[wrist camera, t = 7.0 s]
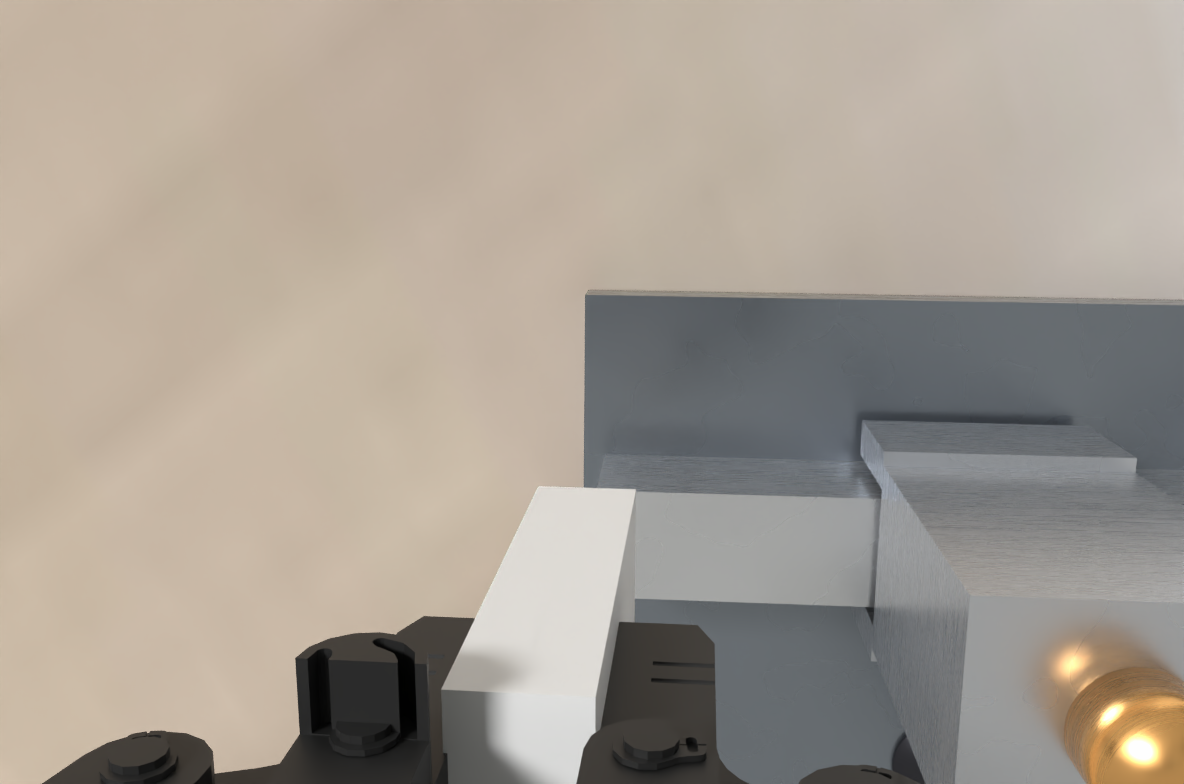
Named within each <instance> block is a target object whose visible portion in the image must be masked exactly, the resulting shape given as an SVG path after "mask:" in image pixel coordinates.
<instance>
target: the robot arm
mask: <svg viewBox="0 0 1184 784" xmlns="http://www.w3.org/2000/svg"><path fill="white" fill-rule="evenodd" d="M635 539H636V489H610V488H579V487H548V486H538V488H537V490H536V492H535V494H534V496H533V498H532V501H531V503H530V505H529V507H528V509H527V511H526V513H525V515H524V517H523V519H522V521H521V524H520V526H519V528H518V530H517V532H516V534H515V536H514V538H513V540H512V542H511V544H510V547H509V549H508V551H507V553H506V555H505V557H504V559H503V561H502V563H501V565H500V567H499V570H498V572H497V574H496V576H495V578H494V580H493V582H492V584H491V586H490V588H489V591H488V593H487V595H486V597H485V599H484V601H483V603H482V605H481V607H480V609H479V611H478V614H477V616H476V618H453V617H430V616H424V617H422V618H420V619H419V620H417V621H416V622H414V623H412V624H411V625H409V626H407V627H406V628H404V629H403V630H401V631H399V632H398V633H397V634H396V635H394V634H387V633H380V632H379V633H355V634H349V635H345V636H340V637H335V638H330V639H327V640H325V641H323V642H320V643H318V644H315V645H313V646H311V647H309V648H307V649H306V650H305V651H304V652H302V653H301V654H300V655H299V656H297V657H296V658H295V659H296V676H297V692H298V709H299V726H300V735H299V736H298V738H297V739H296V741H295V742H294V744H293V745H292V747H291V748H290V750H289V751H288V753H287V754H286V756H285V757H284V759H283V760H282V762H281V763H280V764H277V765H272V766H267V767H262V768H256V769H248V770H240V771H233V772H225V773H217V774H214V762H213V751H212V750H211V748H210V747H209V746H208V745H207V744H206V742H205V741H204V740H202V739H199V738H197V737H194V736H192V735H189V734H186V733H175V732H166V731H150V733H147V732H141V733H135V734H131V735H129V736H128V737H126V738H122V739H119V740H116V741H112V742H109V743H106V744H105V745H103V746H101V747H99V748H97V749H95V750H93V751H91V752H89V753H87V754H85V755H84V756H82V757H81V758H79V759H78V760H76V761H75V762H73V763H72V764H70V765H69V766H67V767H66V768H64V769H63V770H62V771H60V772H59V773H57V774H56V775H54V776H53V777H51V778H50V779H48V780H47V781H45V782H44V783H42V784H749V783H747V782H745V781H743V780H741V779H739V778H738V777H737V776H736V775H734V774H733V773H732V772H731V771H729V770H728V769H727V768H726V767H725V765H724V764H723V762H722V761H721V760H720V758H719V754H718V751H717V741H716V690H715V644H714V642H713V641H712V640H711V639H710V638H709V637H708V636H707V635H706V634H705V633H704V631H703V630H702V629H701V628H700V627H699V626H698V625H685V624H662V623H639V622H635ZM799 784H920V783H918V782H916V781H914V780H912V779H910V778H908V777H905V776H903V775H901V774H899V773H897V772H894V771H892V770H888V769H885V768H882V767H880V768H877V766H871V765H838V766H833V767H828V768H823V769H818V770H816V771H815V772H813V773H811V774H809V775H808V776H806V777H804V778H803V779H801V780H800V782H799Z"/></svg>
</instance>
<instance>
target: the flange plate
mask: <svg viewBox="0 0 1184 784" xmlns="http://www.w3.org/2000/svg"><path fill="white" fill-rule="evenodd" d="M862 420H870V421H911V422H951V423H991V424H1031V425H1071V426H1088V427H1090V428H1092V429H1093V430H1095V431H1096V432H1098V433H1099V434H1101V435H1102V436H1104V437H1105V438H1107V439H1108V440H1110V441H1111V442H1113V443H1114V444H1116V445H1118V446H1119V447H1121V448H1122V449H1124V450H1125V451H1127V452H1128V453H1130V454H1131V455H1133V456H1134V457H1136V458H1137V463H1136V472H1135V473H1137V474H1138V475H1140V476H1141V477H1142V478H1144V479H1145V480H1147V481H1148V482H1150V483H1151V484H1153V485H1154V486H1156V487H1157V488H1158V489H1160V490H1161V491H1163V492H1164V493H1166V494H1167V495H1169V496H1170V497H1172V498H1173V499H1174V500H1176V501H1177V502H1179V503H1180V504H1182V505H1183V506H1184V300H1146V299H1088V298H1030V297H972V296H914V295H856V294H798V293H740V292H681V291H623V290H588V292H587V293H586V295H585V401H584V488H610V489H636V539H635V622H639V623H662V624H685V625H698V626H699V627H700V628H701V629H702V630H703V631H704V633H705V634H706V635H707V636H708V637H709V638H710V639H711V640H712V641H713V642H714V644H715V690H716V741H717V751H718V754H719V758H720V760H721V761H722V762H723V764H724V765H725V767H726V768H727V769H728V770H729V771H731V772H732V773H733V774H734V775H736V776H737V777H738V778H739V779H741V780H743V781H745V782H747V783H749V784H799V782H800V780H801V779H803V778H804V777H806V776H808V775H809V774H811V773H813V772H815V771H816V770H818V769H823V768H828V767H833V766H838V765H871V766H877V768H880V767H882V768H885V769H888V770H892V771H894V772H897V773H899V774H901V775H903V776H905V777H908V778H910V779H912V780H914V781H916V782H918V783H920V784H925V781H924V779H923V776H922V774H921V771H920V769H919V766H918V764H917V761H916V759H915V756H914V754H913V751H912V748H911V746H910V743H909V741H908V738H907V736H906V733H905V731H904V728H903V726H902V723H901V721H900V718H899V716H898V713H897V711H896V708H895V706H894V703H893V701H892V698H891V696H890V693H889V690H888V688H887V685H886V683H885V680H884V678H883V675H882V673H881V670H880V668H879V665H878V663H877V662H874V661H871V660H870V658H869V655H868V653H867V650H866V647H865V645H864V642H863V640H862V637H861V634H860V632H859V629H858V627H857V624H856V621H855V619H854V616H853V614H852V611H851V606H854V607H874V605H875V589H876V573H877V557H878V542H879V526H880V510H881V494H882V489H881V487H880V485H879V484H878V482H877V481H876V479H875V477H874V476H873V474H872V472H871V471H870V469H869V468H868V466H867V464H866V463H865V461H864V460H863V458H862V456H861V455H860V450H861V433H862Z"/></svg>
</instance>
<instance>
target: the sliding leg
mask: <svg viewBox="0 0 1184 784" xmlns="http://www.w3.org/2000/svg"><path fill="white" fill-rule="evenodd" d="M860 455H861V456H862V458H863V460H864V461H865V463H866V464H867V466H868V468H869V469H870V471H871V472H872V474H873V476H874V477H875V479H876V481H877V482H878V484H879V485H880V487H881V489H882V494H881V510H880V526H879V542H878V557H877V573H876V589H875V605H874V607H854V606H851V611H852V614H853V616H854V619H855V621H856V624H857V627H858V629H859V632H860V634H861V637H862V640H863V642H864V645H865V647H866V650H867V653H868V655H869V658H870V660H871V661H874V662H877V663H878V665H879V668H880V670H881V673H882V675H883V678H884V680H885V683H886V685H887V688H888V690H889V693H890V696H891V698H892V701H893V703H894V706H895V708H896V711H897V713H898V716H899V718H900V721H901V723H902V726H903V728H904V731H905V733H906V736H907V738H908V741H909V743H910V746H911V748H912V751H913V754H914V756H915V759H916V761H917V764H918V766H919V769H920V771H921V774H922V776H923V779H924V781H925V784H1184V506H1183V505H1182V504H1180V503H1179V502H1177V501H1176V500H1174V499H1173V498H1172V497H1170V496H1169V495H1167V494H1166V493H1164V492H1163V491H1161V490H1160V489H1158V488H1157V487H1156V486H1154V485H1153V484H1151V483H1150V482H1148V481H1147V480H1145V479H1144V478H1142V477H1141V476H1140V475H1138V474H1137V473H1135V472H1136V463H1137V458H1136V457H1134V456H1133V455H1131V454H1130V453H1128V452H1127V451H1125V450H1124V449H1122V448H1121V447H1119V446H1118V445H1116V444H1114V443H1113V442H1111V441H1110V440H1108V439H1107V438H1105V437H1104V436H1102V435H1101V434H1099V433H1098V432H1096V431H1095V430H1093V429H1092V428H1090V427H1088V426H1071V425H1031V424H991V423H951V422H911V421H870V420H862V433H861V450H860Z"/></svg>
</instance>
